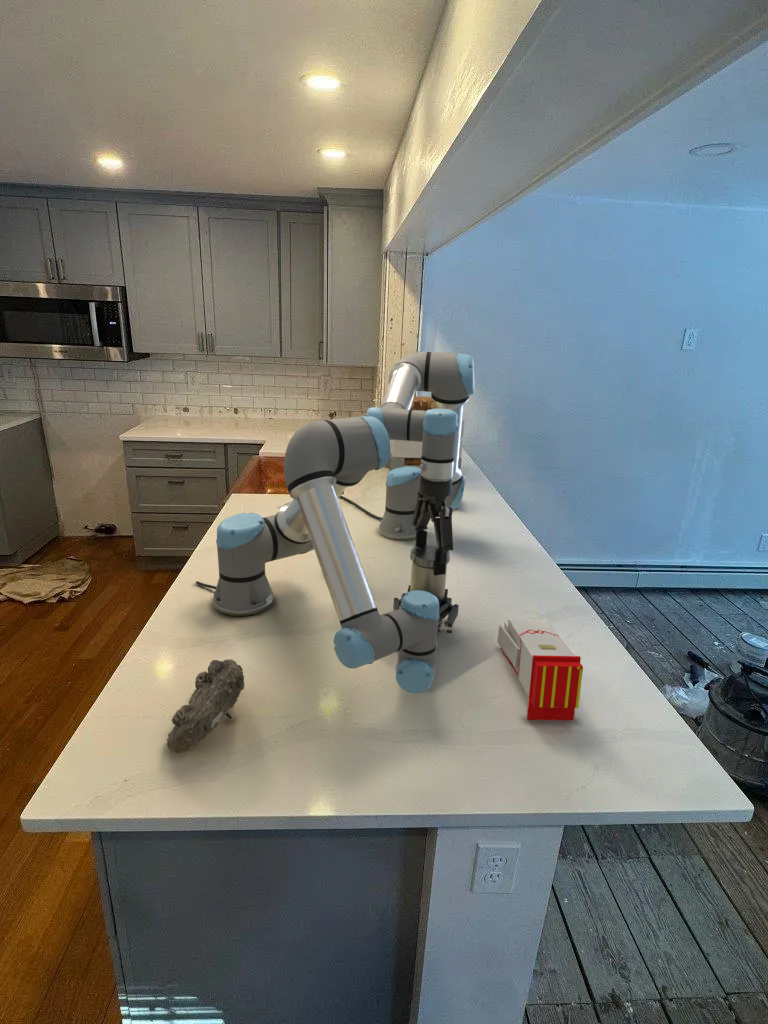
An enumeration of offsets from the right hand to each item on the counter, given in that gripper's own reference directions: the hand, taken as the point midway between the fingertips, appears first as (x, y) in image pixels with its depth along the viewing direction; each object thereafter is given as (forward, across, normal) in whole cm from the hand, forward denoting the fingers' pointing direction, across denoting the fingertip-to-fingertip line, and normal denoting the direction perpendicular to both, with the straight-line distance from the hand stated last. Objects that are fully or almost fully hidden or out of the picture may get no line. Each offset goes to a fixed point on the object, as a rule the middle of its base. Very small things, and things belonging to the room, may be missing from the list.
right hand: (429, 564), depth 138 cm
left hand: (+10, -4, +2) cm, 11 cm away
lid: (-3, 0, 0) cm, 3 cm away
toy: (+16, +28, +12) cm, 35 cm away
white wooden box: (+16, -128, +56) cm, 140 cm away
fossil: (+16, +19, -54) cm, 59 cm away
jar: (+16, 0, 0) cm, 16 cm away
